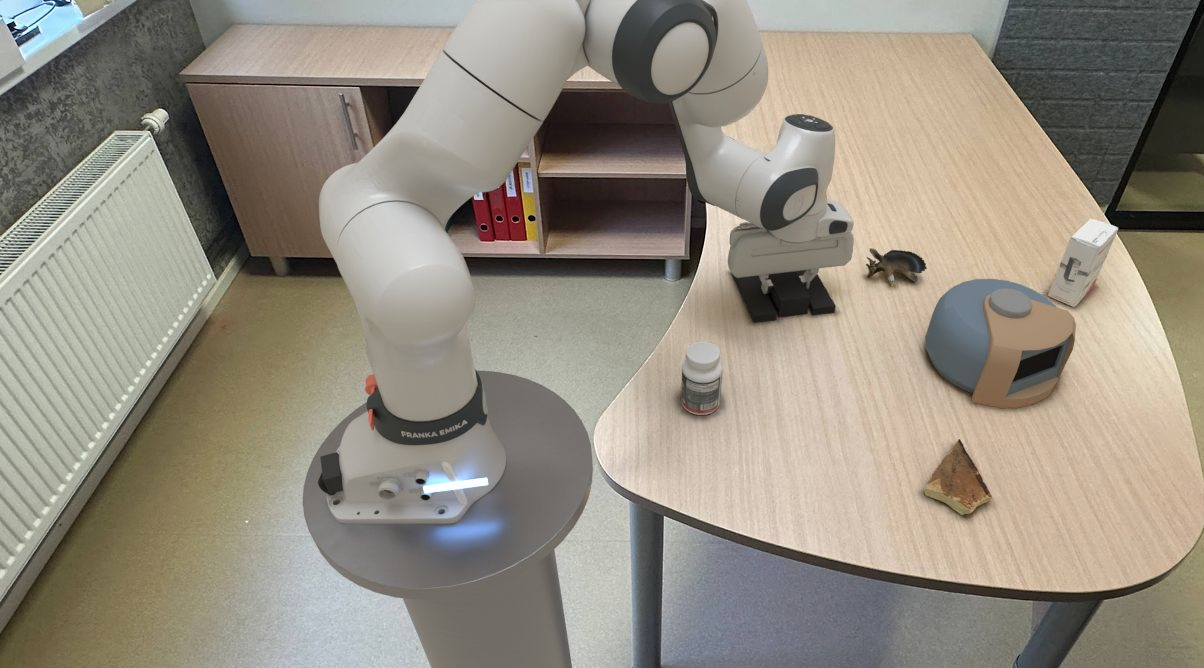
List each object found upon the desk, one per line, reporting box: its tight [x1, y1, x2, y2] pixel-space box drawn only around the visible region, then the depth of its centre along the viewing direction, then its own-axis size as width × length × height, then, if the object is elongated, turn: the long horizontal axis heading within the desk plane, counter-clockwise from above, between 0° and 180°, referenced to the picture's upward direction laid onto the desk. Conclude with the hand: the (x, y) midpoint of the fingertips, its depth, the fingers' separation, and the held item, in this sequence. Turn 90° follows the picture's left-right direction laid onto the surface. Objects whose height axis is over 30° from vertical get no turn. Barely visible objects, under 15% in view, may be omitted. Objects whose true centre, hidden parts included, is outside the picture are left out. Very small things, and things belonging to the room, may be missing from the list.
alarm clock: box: [924, 278, 1077, 409], centre depth 117 cm, size 19×20×12 cm
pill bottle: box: [680, 340, 724, 416], centre depth 111 cm, size 6×6×10 cm
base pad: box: [730, 270, 837, 324], centre depth 133 cm, size 14×14×2 cm
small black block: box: [766, 271, 810, 318], centre depth 131 cm, size 5×10×4 cm, turn 12°
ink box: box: [1047, 218, 1119, 308], centre depth 131 cm, size 9×5×12 cm, turn 137°
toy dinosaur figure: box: [865, 247, 928, 288], centre depth 135 cm, size 8×7×9 cm
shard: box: [924, 438, 993, 516], centre depth 103 cm, size 11×8×2 cm
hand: (785, 289), depth 131 cm, fingers closed on small black block, 5 cm apart
